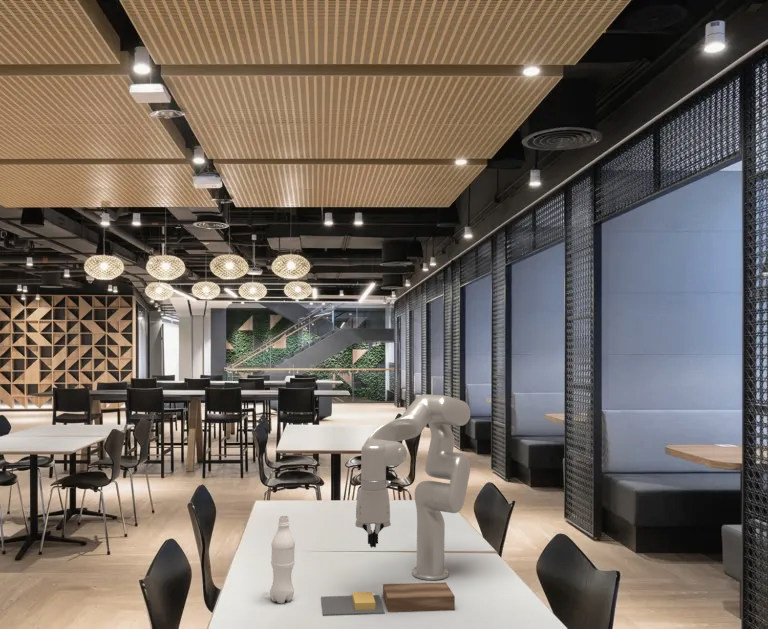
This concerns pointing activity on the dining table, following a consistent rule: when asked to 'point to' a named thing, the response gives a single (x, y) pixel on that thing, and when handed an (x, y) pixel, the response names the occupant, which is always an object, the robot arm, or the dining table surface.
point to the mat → (347, 606)
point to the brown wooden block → (418, 597)
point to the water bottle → (282, 562)
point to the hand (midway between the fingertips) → (372, 546)
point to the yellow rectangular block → (363, 600)
